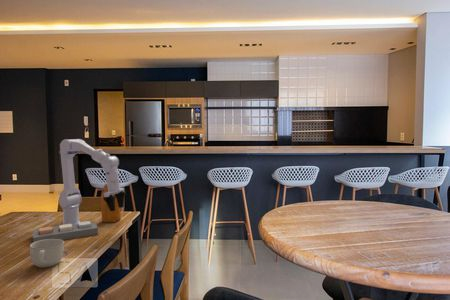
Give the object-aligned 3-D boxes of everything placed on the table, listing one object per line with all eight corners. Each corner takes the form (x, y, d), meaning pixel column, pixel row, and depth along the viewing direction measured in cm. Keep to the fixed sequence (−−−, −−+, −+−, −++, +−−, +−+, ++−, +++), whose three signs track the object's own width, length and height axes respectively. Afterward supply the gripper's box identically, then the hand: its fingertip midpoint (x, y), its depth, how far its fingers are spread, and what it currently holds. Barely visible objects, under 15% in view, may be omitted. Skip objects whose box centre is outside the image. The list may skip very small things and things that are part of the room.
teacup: (39, 258, 121) (38, 238, 121) (69, 257, 122) (68, 237, 122) (19, 275, 107) (18, 252, 107) (53, 274, 108) (52, 251, 108)
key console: (33, 236, 146) (33, 230, 146) (94, 227, 159) (93, 221, 159) (33, 244, 136) (32, 237, 136) (98, 234, 149) (97, 227, 149)
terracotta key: (39, 232, 144) (39, 228, 144) (52, 230, 147) (51, 226, 147) (39, 235, 140) (39, 231, 140) (52, 233, 143) (52, 229, 142)
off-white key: (59, 229, 148) (59, 225, 148) (71, 227, 151) (71, 223, 151) (60, 232, 144) (60, 228, 144) (72, 230, 147) (72, 226, 147)
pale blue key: (78, 226, 152) (78, 222, 152) (89, 225, 155) (89, 221, 155) (79, 229, 148) (79, 225, 148) (91, 227, 151) (90, 223, 151)
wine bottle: (116, 216, 178) (114, 163, 176) (124, 220, 171) (122, 164, 169) (98, 220, 172) (96, 164, 169) (106, 224, 164) (104, 166, 162)
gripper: (111, 182, 146) (116, 211, 146) (128, 178, 160) (132, 205, 160) (98, 184, 147) (102, 213, 147) (115, 179, 161) (119, 206, 162)
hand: (117, 209), depth 154 cm, fingers open, 7 cm apart
